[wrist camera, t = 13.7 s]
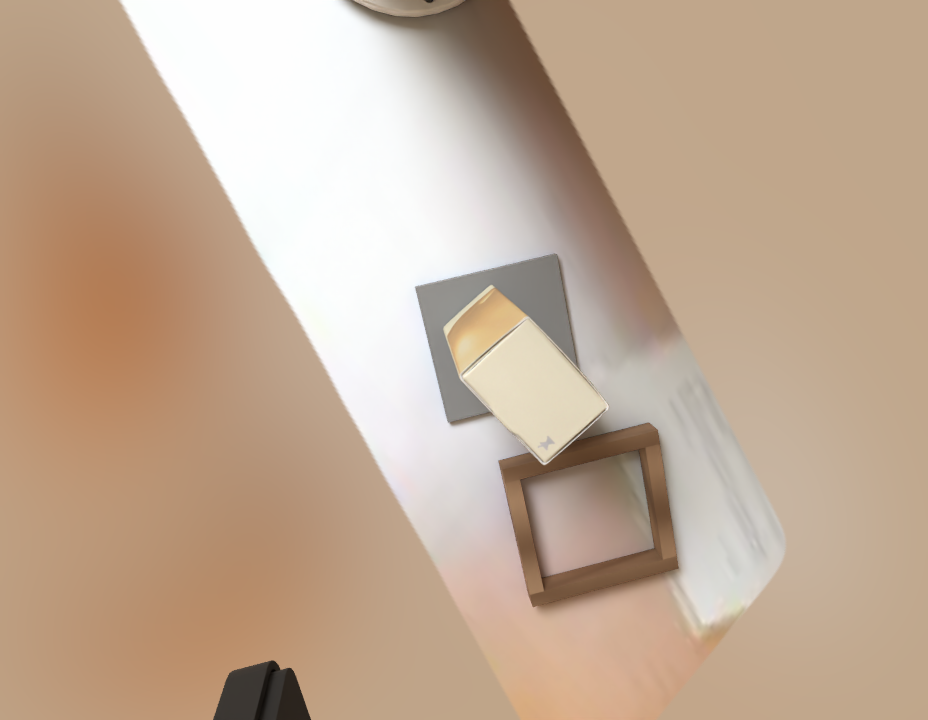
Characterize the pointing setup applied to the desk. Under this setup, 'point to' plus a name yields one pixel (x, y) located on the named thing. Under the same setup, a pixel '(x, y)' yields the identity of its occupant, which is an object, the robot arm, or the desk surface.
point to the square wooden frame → (606, 571)
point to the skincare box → (521, 375)
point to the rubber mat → (523, 285)
